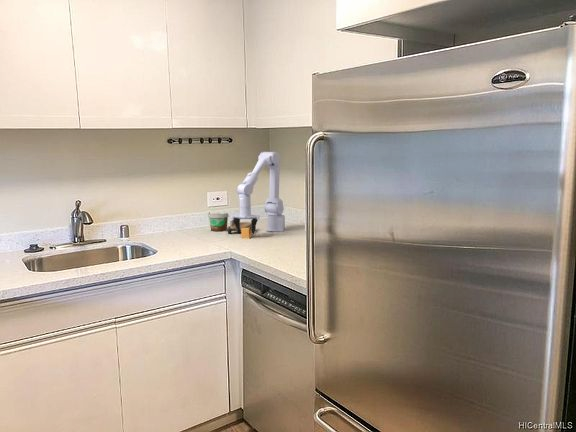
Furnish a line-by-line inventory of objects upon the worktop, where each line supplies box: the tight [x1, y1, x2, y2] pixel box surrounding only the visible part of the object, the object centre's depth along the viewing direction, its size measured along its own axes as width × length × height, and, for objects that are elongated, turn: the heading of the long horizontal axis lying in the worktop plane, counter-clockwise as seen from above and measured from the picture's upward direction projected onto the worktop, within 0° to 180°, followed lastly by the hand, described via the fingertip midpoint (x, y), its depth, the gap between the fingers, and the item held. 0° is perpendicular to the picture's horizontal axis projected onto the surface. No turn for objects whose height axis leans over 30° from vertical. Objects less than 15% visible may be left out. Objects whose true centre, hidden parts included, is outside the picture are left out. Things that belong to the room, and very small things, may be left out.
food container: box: [207, 212, 230, 233], centre depth 258 cm, size 12×6×10 cm, turn 73°
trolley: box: [227, 219, 257, 235], centre depth 254 cm, size 13×13×7 cm
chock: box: [240, 228, 254, 239], centre depth 243 cm, size 4×8×5 cm, turn 171°
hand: (245, 232), depth 240 cm, fingers open, 7 cm apart
